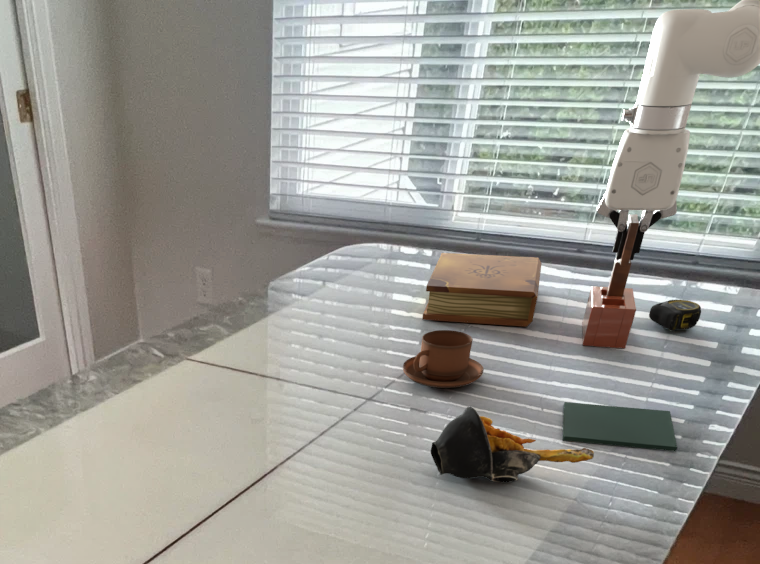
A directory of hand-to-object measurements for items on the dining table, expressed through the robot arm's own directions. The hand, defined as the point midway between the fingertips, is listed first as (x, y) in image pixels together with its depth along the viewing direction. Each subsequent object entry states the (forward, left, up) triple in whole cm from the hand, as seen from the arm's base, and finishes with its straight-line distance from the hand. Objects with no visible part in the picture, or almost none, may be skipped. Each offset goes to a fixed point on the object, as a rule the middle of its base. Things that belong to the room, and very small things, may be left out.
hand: (624, 257), depth 136 cm
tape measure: (-11, -4, -12) cm, 16 cm away
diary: (+21, -10, -12) cm, 26 cm away
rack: (0, +2, -11) cm, 12 cm away
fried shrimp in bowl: (+13, +60, -12) cm, 62 cm away
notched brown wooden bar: (0, 0, -11) cm, 11 cm away
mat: (-1, +41, -11) cm, 42 cm away
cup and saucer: (+24, +29, -12) cm, 39 cm away
